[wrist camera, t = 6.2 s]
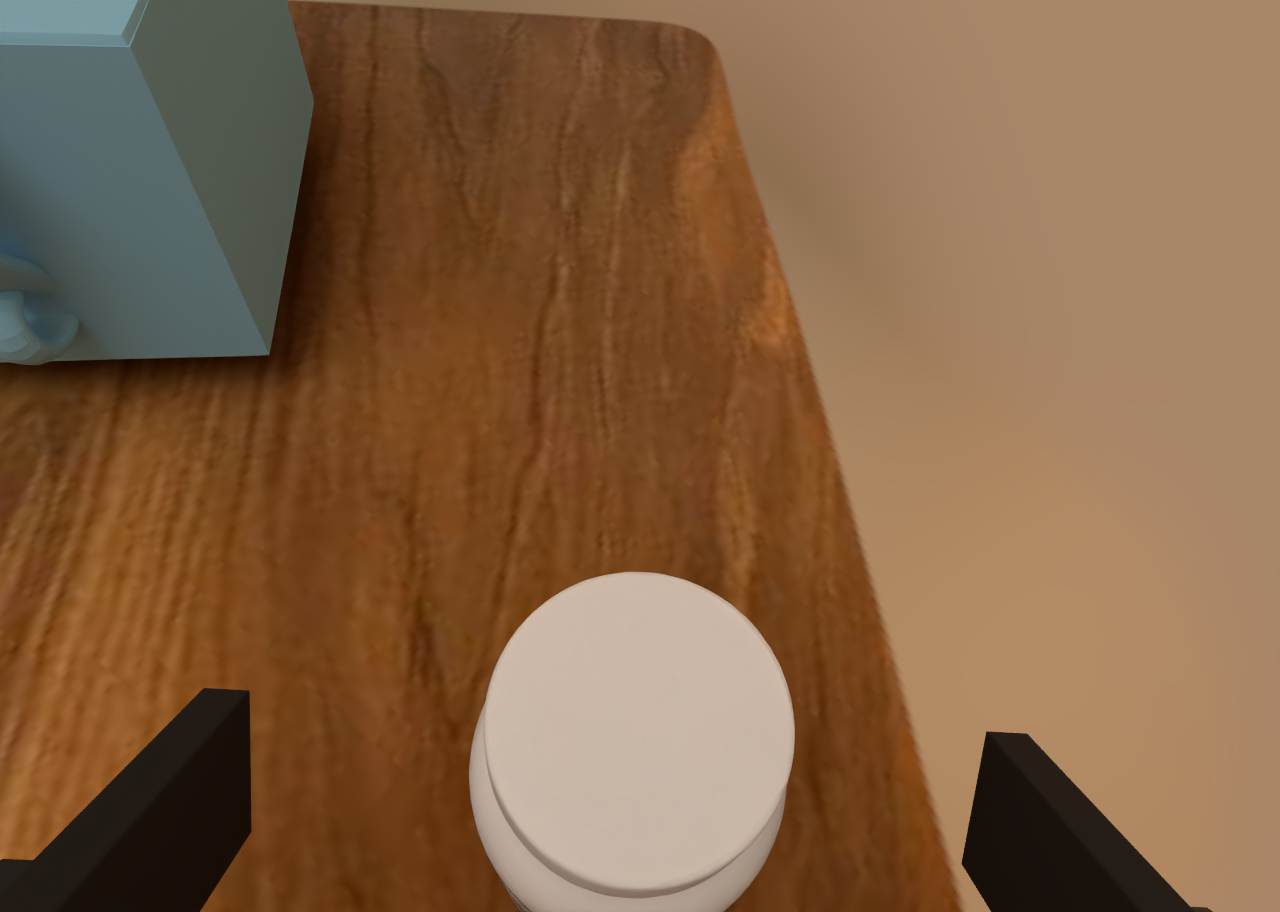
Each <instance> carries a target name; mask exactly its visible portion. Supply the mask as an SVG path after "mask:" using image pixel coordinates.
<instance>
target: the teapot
mask: <svg viewBox="0 0 1280 912" xmlns="http://www.w3.org/2000/svg"><path fill="white" fill-rule="evenodd" d="M313 106H314V99H313V95H312V91H311V88H310V84H309V80H308V77H307V73H306V69H305V66H304V62H303V58H302V55H301V51H300V47H299V44H298V40H297V36H296V33H295V29H294V25H293V22H292V18H291V14H290V11H289V7H288V3H287V0H0V362H11V363H16V364H24V365H40V364H44V363H47V362H49V361H76V360H110V359H146V358H186V357H224V356H261V355H269V353H270V348H271V343H272V338H273V332H274V327H275V321H276V316H277V310H278V305H279V299H280V294H281V288H282V282H283V277H284V271H285V266H286V260H287V255H288V249H289V243H290V238H291V232H292V227H293V221H294V215H295V210H296V204H297V198H298V193H299V187H300V181H301V175H302V170H303V164H304V158H305V152H306V147H307V141H308V135H309V129H310V124H311V118H312V112H313Z"/></svg>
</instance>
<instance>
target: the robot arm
mask: <svg viewBox="0 0 1280 912" xmlns="http://www.w3.org/2000/svg"><path fill="white" fill-rule="evenodd" d="M250 833H251V766H250V694H249V691H246V690H228V689H210V688H204V689H203V690H202V691H201V692H200V693H199V694H198V695H197V696H196V697H195V698H194V699H193V700H192V701H191V702H190V703H189V704H188V705H187V706H186V707H185V708H184V709H183V710H182V711H181V712H180V713H179V714H178V715H177V716H176V717H175V718H174V719H173V720H172V721H171V722H170V723H169V724H168V725H167V726H166V727H165V728H164V729H163V730H162V731H161V732H160V733H159V734H158V735H157V736H156V737H155V738H154V739H153V740H152V741H151V742H150V743H149V744H148V745H147V746H146V747H145V748H144V749H143V750H142V751H141V752H140V753H139V754H138V755H137V756H136V757H135V758H134V759H133V760H132V761H131V762H130V763H129V764H128V765H127V766H126V767H125V768H124V769H123V770H122V771H121V772H120V773H119V774H118V775H117V776H116V777H115V778H114V779H113V780H112V781H111V782H110V783H109V784H108V785H107V786H106V787H105V788H104V789H103V790H102V792H101V793H100V794H99V795H98V796H97V797H96V798H95V799H94V800H93V801H92V802H91V803H90V804H89V805H88V806H87V807H86V808H85V809H84V810H83V811H82V812H81V813H80V814H79V815H78V816H77V817H76V818H75V819H74V820H73V821H72V822H71V823H70V824H69V825H68V826H67V827H66V828H65V829H64V830H63V831H62V832H61V833H60V834H59V835H58V836H57V837H56V838H55V839H54V840H53V841H52V842H51V843H50V844H49V845H48V846H47V847H46V848H45V849H44V850H43V851H42V852H41V853H40V854H39V855H38V856H37V857H36V858H35V859H34V860H14V859H2V860H0V912H200V910H201V909H202V907H203V906H204V904H205V903H206V901H207V900H208V898H209V897H210V895H211V893H212V892H213V890H214V889H215V887H216V886H217V884H218V883H219V881H220V879H221V878H222V876H223V875H224V873H225V872H226V870H227V869H228V867H229V865H230V864H231V862H232V861H233V859H234V858H235V856H236V855H237V853H238V852H239V850H240V848H241V847H242V845H243V844H244V842H245V841H246V839H247V838H248V836H249V834H250ZM962 865H963V867H964V868H965V870H966V871H967V873H968V875H969V876H970V878H971V880H972V881H973V883H974V885H975V886H976V888H977V889H978V891H979V893H980V894H981V896H982V898H983V899H984V901H985V902H986V904H987V906H988V907H989V909H990V910H991V912H1212V911H1211V910H1210V909H1208V908H1204V907H1190V906H1189V905H1188V904H1187V903H1186V902H1185V901H1184V900H1183V899H1182V898H1181V897H1180V896H1179V894H1178V893H1177V892H1176V891H1175V890H1174V889H1173V888H1172V887H1171V886H1170V885H1169V884H1168V883H1167V882H1166V881H1165V880H1164V879H1163V878H1162V877H1161V875H1160V874H1159V873H1158V872H1157V871H1156V870H1155V869H1154V868H1153V867H1152V866H1151V865H1150V864H1149V863H1148V862H1147V861H1146V859H1145V858H1144V857H1143V856H1142V855H1141V854H1140V853H1139V852H1138V851H1137V850H1136V849H1135V848H1134V847H1133V846H1132V845H1131V844H1130V842H1128V840H1127V839H1126V838H1125V837H1124V836H1123V835H1122V834H1121V833H1120V832H1119V831H1118V830H1117V829H1116V828H1115V827H1114V826H1113V824H1111V822H1110V821H1109V820H1108V819H1107V818H1106V817H1105V816H1104V815H1103V814H1102V813H1101V812H1100V811H1099V810H1098V809H1097V807H1096V806H1095V805H1094V804H1093V803H1092V802H1091V801H1090V800H1089V799H1088V798H1087V797H1086V796H1085V795H1084V794H1083V793H1082V792H1081V790H1080V789H1079V788H1078V787H1077V786H1076V785H1075V784H1074V783H1073V782H1072V781H1071V780H1070V779H1069V778H1068V777H1067V776H1066V775H1065V773H1064V772H1063V771H1062V770H1061V769H1060V768H1059V767H1058V766H1057V765H1056V764H1055V763H1054V762H1053V761H1052V760H1051V759H1050V758H1049V757H1048V755H1046V754H1045V752H1044V751H1043V750H1041V748H1040V747H1039V746H1038V745H1037V744H1036V743H1035V742H1034V741H1033V740H1032V738H1031V737H1030V736H1029V735H1028V734H1022V733H1003V732H986V737H985V742H984V747H983V753H982V758H981V763H980V769H979V774H978V779H977V785H976V790H975V795H974V800H973V806H972V811H971V816H970V821H969V827H968V833H967V837H966V843H965V848H964V854H963V859H962Z"/></svg>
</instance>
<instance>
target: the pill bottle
mask: <svg viewBox="0 0 1280 912" xmlns="http://www.w3.org/2000/svg"><path fill="white" fill-rule="evenodd" d="M794 743H795V723H794V713H793V708H792V701H791V697H790V693H789V690H788V686H787V683H786V680H785V678H784V675H783V672H782V670H781V667H780V664H779V663H778V661H777V659H776V657H775V655H774V654H773V652H772V650H771V648H770V647H769V645H768V644H767V642H766V641H765V640H764V638H763V637H762V635H761V634H760V633H759V631H758V630H757V629H756V628H755V626H754V625H753V624H752V623H751V622H750V621H749V620H748V619H747V617H745V616H744V615H743V614H742V613H740V612H739V611H738V610H737V609H736V608H735V607H734V606H732V605H731V604H730V603H728V602H726V601H725V600H724V599H722V598H721V597H719V596H718V595H716V594H714V593H713V592H711V591H709V590H707V589H705V588H703V587H701V586H699V585H696V584H694V583H692V582H690V581H687V580H683V579H679V578H676V577H672V576H668V575H664V574H658V573H650V572H623V573H616V574H609V575H604V576H599V577H596V578H592V579H589V580H585V581H583V582H580V583H578V584H575V585H573V586H571V587H569V588H567V589H565V590H563V591H562V592H560V593H558V594H557V595H555V596H553V597H552V598H550V599H549V600H548V601H546V602H545V603H544V604H543V605H541V606H540V607H539V608H538V609H536V610H535V611H534V612H533V613H532V614H531V615H530V616H529V617H528V618H527V619H526V620H525V621H524V622H523V623H522V625H521V626H520V627H519V628H518V629H517V631H516V632H515V633H514V635H513V636H512V638H511V639H510V640H509V642H508V643H507V645H506V647H505V649H504V650H503V652H502V654H501V656H500V658H499V660H498V662H497V664H496V667H495V669H494V672H493V675H492V678H491V681H490V684H489V688H488V692H487V697H486V702H485V704H484V706H483V709H482V711H481V714H480V716H479V719H478V722H477V726H476V729H475V733H474V737H473V742H472V748H471V756H470V765H469V785H470V797H471V803H472V809H473V814H474V819H475V824H476V828H477V831H478V834H479V837H480V839H481V842H482V845H483V847H484V850H485V852H486V854H487V856H488V858H489V861H490V862H491V864H492V866H493V868H494V869H495V871H496V873H497V875H498V876H499V878H500V880H501V881H502V883H503V885H504V886H505V888H506V890H507V892H508V894H509V895H510V897H511V899H512V901H513V902H514V904H515V905H516V906H517V908H518V909H519V910H520V912H724V911H725V910H727V909H728V908H729V907H730V906H731V905H732V904H733V903H734V902H735V901H736V900H737V899H738V898H739V897H740V896H741V895H742V894H743V892H744V891H745V890H746V889H747V888H748V887H749V885H750V884H751V883H752V881H753V880H754V879H755V877H756V876H757V874H758V873H759V871H760V870H761V868H762V866H763V865H764V863H765V861H766V859H767V857H768V855H769V853H770V851H771V849H772V846H773V844H774V842H775V839H776V836H777V833H778V831H779V828H780V824H781V820H782V816H783V811H784V805H785V798H786V786H787V782H788V779H789V775H790V772H791V768H792V762H793V755H794Z"/></svg>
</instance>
